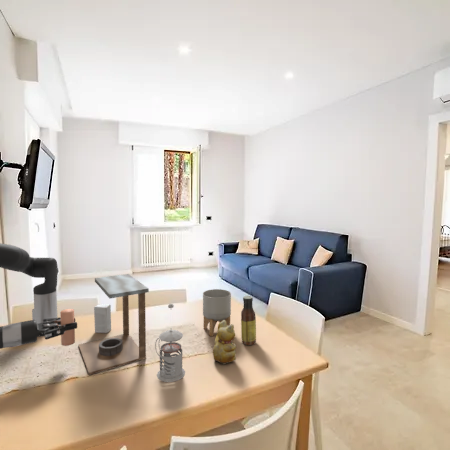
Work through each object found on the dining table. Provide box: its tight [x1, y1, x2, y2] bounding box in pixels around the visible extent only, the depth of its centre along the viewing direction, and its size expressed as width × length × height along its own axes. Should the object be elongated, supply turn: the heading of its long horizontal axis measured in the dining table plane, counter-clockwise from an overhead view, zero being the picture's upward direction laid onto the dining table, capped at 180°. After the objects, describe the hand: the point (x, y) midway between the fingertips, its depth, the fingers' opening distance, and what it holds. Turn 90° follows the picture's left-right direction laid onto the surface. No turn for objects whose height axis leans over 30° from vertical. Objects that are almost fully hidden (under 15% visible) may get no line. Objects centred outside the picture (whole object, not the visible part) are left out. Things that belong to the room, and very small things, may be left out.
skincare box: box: [93, 303, 112, 334], centre depth 137 cm, size 6×4×12 cm
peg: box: [59, 308, 76, 347], centre depth 108 cm, size 4×4×12 cm
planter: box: [202, 288, 232, 337], centre depth 138 cm, size 13×13×18 cm
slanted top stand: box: [78, 273, 150, 376], centre depth 117 cm, size 21×26×27 cm
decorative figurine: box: [212, 320, 237, 365], centre depth 112 cm, size 10×8×15 cm
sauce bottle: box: [240, 295, 257, 346], centre depth 126 cm, size 7×6×20 cm
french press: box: [154, 303, 186, 383], centre depth 103 cm, size 10×12×25 cm
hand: (75, 322), depth 110 cm, fingers closed on peg, 4 cm apart
